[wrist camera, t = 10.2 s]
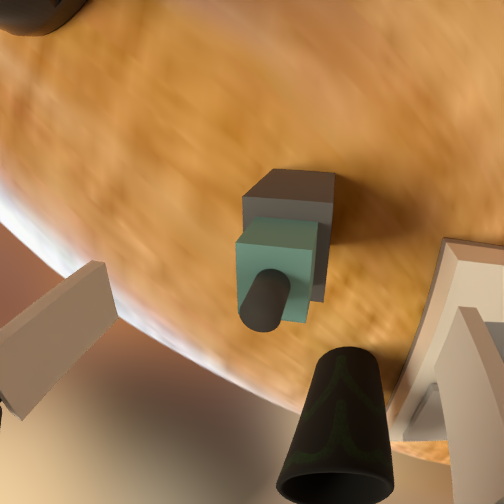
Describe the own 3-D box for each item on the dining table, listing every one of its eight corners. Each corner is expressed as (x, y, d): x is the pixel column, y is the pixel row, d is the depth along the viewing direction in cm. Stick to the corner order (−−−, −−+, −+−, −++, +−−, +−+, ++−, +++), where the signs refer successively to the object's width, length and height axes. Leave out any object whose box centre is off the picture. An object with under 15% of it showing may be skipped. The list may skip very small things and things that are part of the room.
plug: (273, 168, 20) (196, 239, 10) (335, 173, 19) (329, 252, 9) (272, 239, 22) (209, 358, 12) (329, 245, 21) (312, 376, 11)
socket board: (442, 237, 19) (458, 260, 16) (571, 257, 16) (592, 277, 12) (383, 413, 27) (383, 440, 24) (493, 411, 24) (499, 435, 21)
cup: (407, 365, 24) (417, 489, 13) (347, 406, 28) (334, 515, 17) (344, 321, 24) (333, 458, 13) (286, 370, 27) (253, 487, 17)
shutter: (431, 383, 20) (439, 433, 15) (533, 379, 17) (549, 420, 13) (402, 434, 23) (403, 478, 19) (497, 429, 20) (506, 466, 16)
